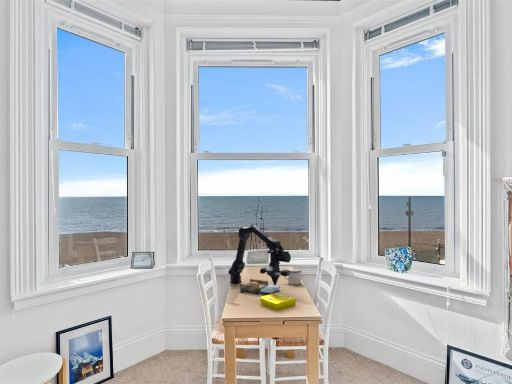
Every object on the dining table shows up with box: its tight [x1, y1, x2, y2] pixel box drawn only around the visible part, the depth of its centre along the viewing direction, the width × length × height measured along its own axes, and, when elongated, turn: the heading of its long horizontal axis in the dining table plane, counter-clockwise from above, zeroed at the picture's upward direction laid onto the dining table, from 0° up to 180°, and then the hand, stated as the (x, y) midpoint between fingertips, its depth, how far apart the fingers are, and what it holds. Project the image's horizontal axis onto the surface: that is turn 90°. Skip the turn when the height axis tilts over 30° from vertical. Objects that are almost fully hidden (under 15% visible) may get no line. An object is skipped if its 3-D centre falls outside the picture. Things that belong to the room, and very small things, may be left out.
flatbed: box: [239, 278, 269, 295], centre depth 207 cm, size 14×17×4 cm
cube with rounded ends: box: [248, 281, 259, 286], centre depth 203 cm, size 7×3×3 cm, turn 63°
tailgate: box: [260, 284, 281, 294], centre depth 202 cm, size 1×14×8 cm
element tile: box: [259, 291, 296, 312], centre depth 179 cm, size 15×15×5 cm
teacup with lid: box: [283, 265, 302, 285], centre depth 222 cm, size 12×9×12 cm
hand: (274, 285), depth 204 cm, fingers closed
